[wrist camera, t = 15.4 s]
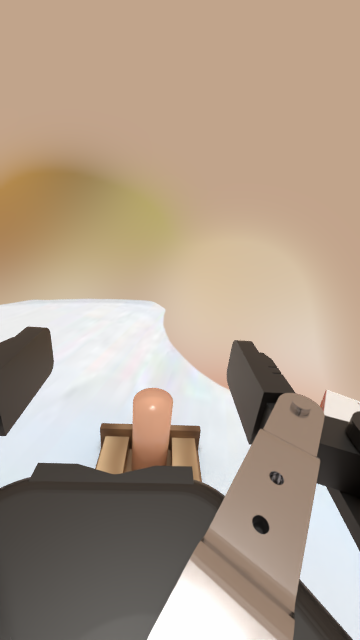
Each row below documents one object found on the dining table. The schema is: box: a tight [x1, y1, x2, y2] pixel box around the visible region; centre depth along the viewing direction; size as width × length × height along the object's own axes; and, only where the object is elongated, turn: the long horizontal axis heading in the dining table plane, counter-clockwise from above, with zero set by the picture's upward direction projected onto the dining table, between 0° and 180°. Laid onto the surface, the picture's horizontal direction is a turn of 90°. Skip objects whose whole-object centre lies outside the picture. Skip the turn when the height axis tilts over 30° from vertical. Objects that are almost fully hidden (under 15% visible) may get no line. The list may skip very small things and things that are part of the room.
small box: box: [320, 390, 360, 422], centre depth 38 cm, size 8×6×10 cm
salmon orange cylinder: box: [132, 388, 173, 471], centre depth 34 cm, size 5×5×12 cm
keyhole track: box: [95, 423, 202, 482], centre depth 31 cm, size 15×18×5 cm
